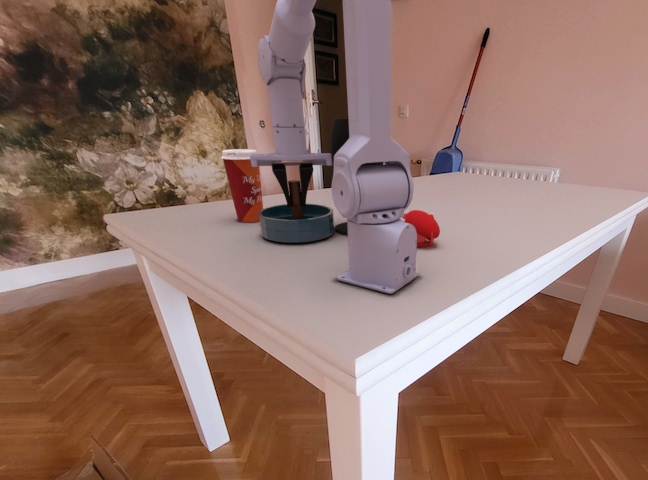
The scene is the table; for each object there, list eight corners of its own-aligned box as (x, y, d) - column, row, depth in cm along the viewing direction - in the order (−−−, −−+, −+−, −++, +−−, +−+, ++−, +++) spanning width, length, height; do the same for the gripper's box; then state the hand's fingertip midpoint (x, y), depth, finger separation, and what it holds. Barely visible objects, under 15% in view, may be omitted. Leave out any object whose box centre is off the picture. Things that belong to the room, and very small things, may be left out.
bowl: (348, 231, 78) (347, 209, 76) (301, 249, 68) (298, 224, 65) (296, 221, 84) (294, 200, 82) (246, 237, 74) (242, 213, 71)
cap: (445, 243, 72) (448, 210, 69) (430, 251, 68) (433, 217, 65) (408, 236, 76) (409, 205, 72) (392, 243, 71) (393, 210, 68)
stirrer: (313, 227, 77) (309, 180, 72) (299, 232, 74) (294, 183, 69) (298, 224, 79) (293, 178, 74) (284, 229, 76) (278, 181, 71)
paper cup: (258, 224, 82) (247, 152, 74) (226, 222, 83) (211, 151, 76) (274, 216, 88) (265, 149, 81) (244, 214, 89) (233, 148, 82)
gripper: (326, 126, 72) (331, 200, 79) (247, 125, 69) (259, 203, 76) (331, 127, 66) (335, 207, 73) (244, 127, 63) (257, 211, 70)
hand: (296, 206), depth 74 cm, fingers closed on stirrer, 2 cm apart
